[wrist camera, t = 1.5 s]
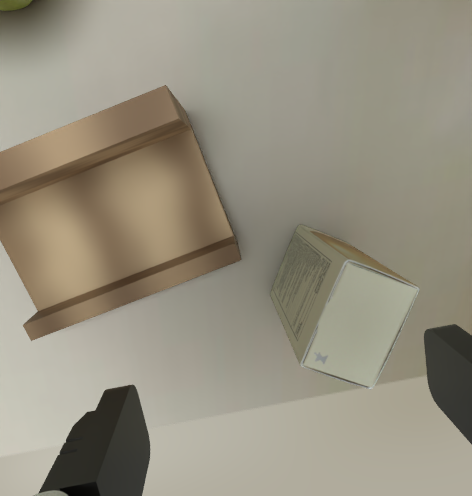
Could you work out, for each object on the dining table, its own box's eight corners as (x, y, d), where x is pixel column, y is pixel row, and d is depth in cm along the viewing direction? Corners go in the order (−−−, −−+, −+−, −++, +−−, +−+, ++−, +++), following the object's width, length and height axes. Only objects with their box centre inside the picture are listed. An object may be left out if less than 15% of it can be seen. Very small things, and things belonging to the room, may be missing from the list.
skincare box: (317, 312, 34) (371, 398, 22) (267, 294, 34) (295, 372, 22) (350, 238, 33) (426, 288, 21) (299, 219, 33) (347, 258, 21)
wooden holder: (184, 110, 30) (165, 85, 19) (237, 243, 33) (249, 295, 21) (-7, 187, 31) (-142, 209, 19) (58, 313, 33) (-27, 400, 22)
